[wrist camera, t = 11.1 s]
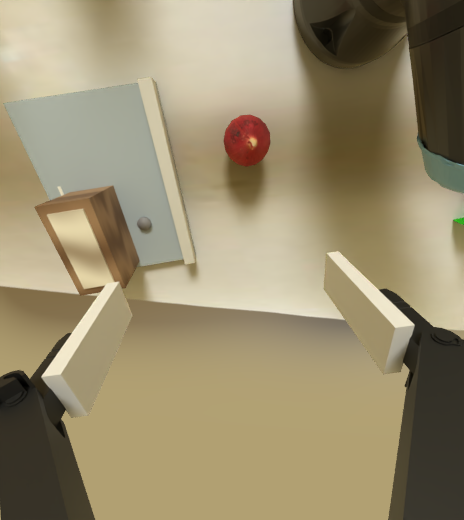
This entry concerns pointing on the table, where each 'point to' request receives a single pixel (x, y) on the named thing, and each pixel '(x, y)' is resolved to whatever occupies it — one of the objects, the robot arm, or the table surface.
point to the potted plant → (460, 220)
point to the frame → (91, 237)
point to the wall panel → (112, 159)
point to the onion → (247, 140)
